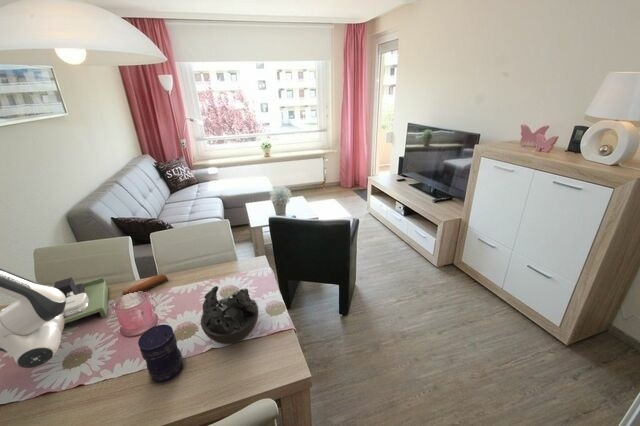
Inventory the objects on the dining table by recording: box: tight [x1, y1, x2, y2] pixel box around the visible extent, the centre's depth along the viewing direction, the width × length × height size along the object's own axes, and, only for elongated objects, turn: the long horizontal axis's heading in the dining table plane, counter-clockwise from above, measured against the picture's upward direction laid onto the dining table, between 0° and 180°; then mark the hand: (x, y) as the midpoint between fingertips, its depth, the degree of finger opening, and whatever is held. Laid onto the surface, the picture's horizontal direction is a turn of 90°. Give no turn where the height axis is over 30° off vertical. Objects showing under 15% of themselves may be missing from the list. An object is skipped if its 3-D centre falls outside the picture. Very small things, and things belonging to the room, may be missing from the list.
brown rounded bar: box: [122, 274, 169, 296], centre depth 136 cm, size 18×7×7 cm
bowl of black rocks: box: [200, 285, 259, 345], centre depth 105 cm, size 20×20×19 cm
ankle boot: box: [53, 277, 85, 298], centre depth 120 cm, size 5×15×12 cm, turn 33°
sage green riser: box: [64, 276, 109, 325], centre depth 122 cm, size 20×22×7 cm
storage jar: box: [137, 324, 185, 385], centre depth 93 cm, size 10×10×15 cm
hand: (53, 298), depth 103 cm, fingers open, 8 cm apart
